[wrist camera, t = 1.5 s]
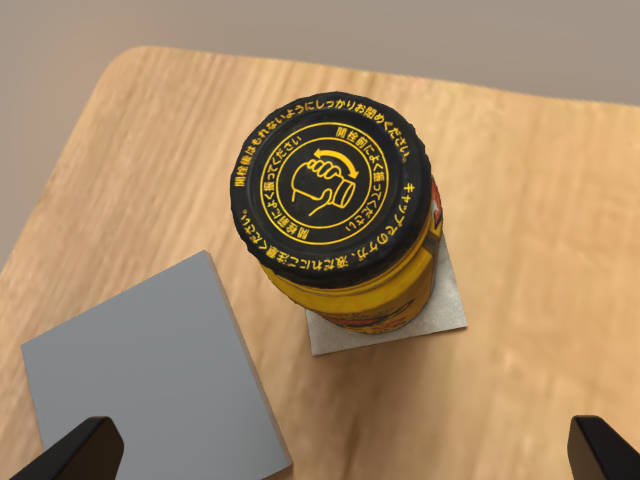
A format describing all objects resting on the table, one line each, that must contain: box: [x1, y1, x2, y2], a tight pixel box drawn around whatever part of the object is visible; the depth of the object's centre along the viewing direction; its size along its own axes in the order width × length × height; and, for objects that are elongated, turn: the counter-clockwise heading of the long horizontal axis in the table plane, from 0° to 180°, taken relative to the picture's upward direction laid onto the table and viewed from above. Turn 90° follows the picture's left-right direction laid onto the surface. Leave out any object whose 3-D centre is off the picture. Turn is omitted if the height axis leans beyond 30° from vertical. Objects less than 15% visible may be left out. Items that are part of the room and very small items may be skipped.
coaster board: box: [21, 250, 293, 480], centre depth 23 cm, size 11×11×1 cm
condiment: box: [230, 91, 468, 356], centre depth 17 cm, size 7×8×12 cm
